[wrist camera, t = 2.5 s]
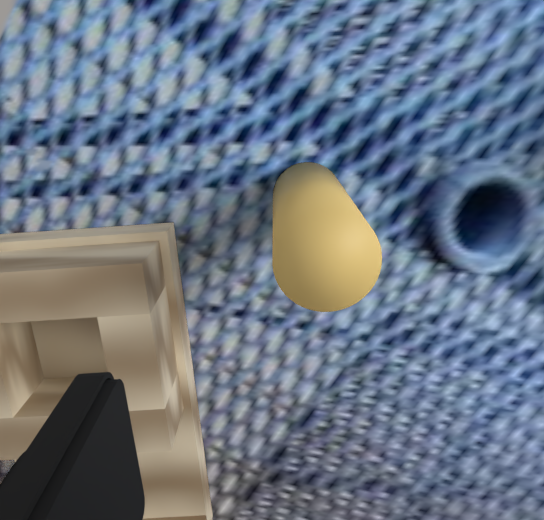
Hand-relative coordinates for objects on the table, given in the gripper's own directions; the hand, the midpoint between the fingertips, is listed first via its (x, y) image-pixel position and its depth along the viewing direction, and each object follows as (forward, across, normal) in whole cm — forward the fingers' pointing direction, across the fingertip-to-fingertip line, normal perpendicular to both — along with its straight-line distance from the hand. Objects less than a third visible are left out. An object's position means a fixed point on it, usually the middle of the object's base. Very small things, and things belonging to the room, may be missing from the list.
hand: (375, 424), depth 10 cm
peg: (+22, 0, 0) cm, 22 cm away
